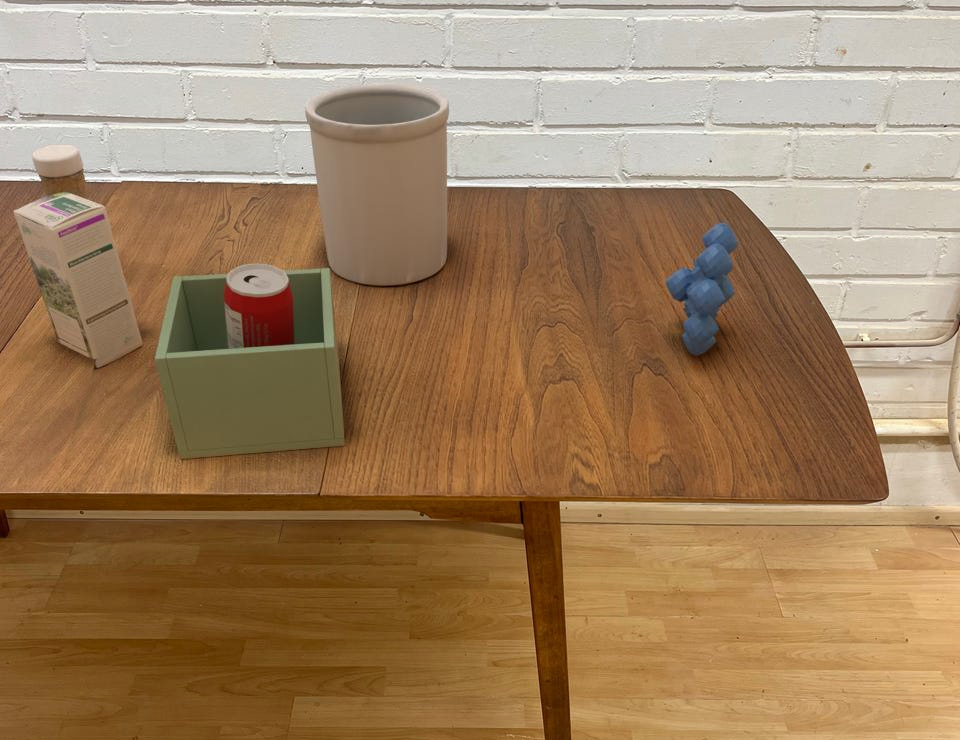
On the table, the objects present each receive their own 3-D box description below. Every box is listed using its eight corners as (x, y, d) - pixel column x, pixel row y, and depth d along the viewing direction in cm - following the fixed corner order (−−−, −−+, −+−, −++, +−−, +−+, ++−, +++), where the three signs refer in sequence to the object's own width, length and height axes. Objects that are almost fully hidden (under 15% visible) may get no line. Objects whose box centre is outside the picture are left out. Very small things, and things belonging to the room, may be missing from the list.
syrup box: (145, 345, 88) (109, 202, 78) (95, 371, 84) (50, 225, 74) (108, 327, 90) (68, 187, 81) (57, 352, 86) (9, 208, 77)
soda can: (308, 393, 80) (306, 274, 72) (268, 422, 77) (261, 300, 69) (260, 370, 82) (253, 251, 74) (219, 398, 78) (207, 276, 70)
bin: (180, 459, 74) (154, 358, 68) (194, 370, 84) (173, 276, 78) (344, 446, 76) (334, 346, 69) (339, 360, 86) (329, 267, 80)
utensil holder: (296, 255, 103) (276, 98, 92) (398, 221, 111) (391, 72, 100) (372, 303, 95) (360, 136, 84) (476, 262, 102) (479, 105, 91)
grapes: (666, 308, 95) (684, 199, 87) (730, 319, 93) (754, 209, 86) (646, 363, 86) (664, 248, 79) (716, 376, 85) (742, 260, 77)
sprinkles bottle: (110, 260, 101) (78, 140, 93) (112, 277, 98) (79, 155, 90) (67, 265, 100) (31, 145, 92) (68, 284, 97) (30, 161, 88)
